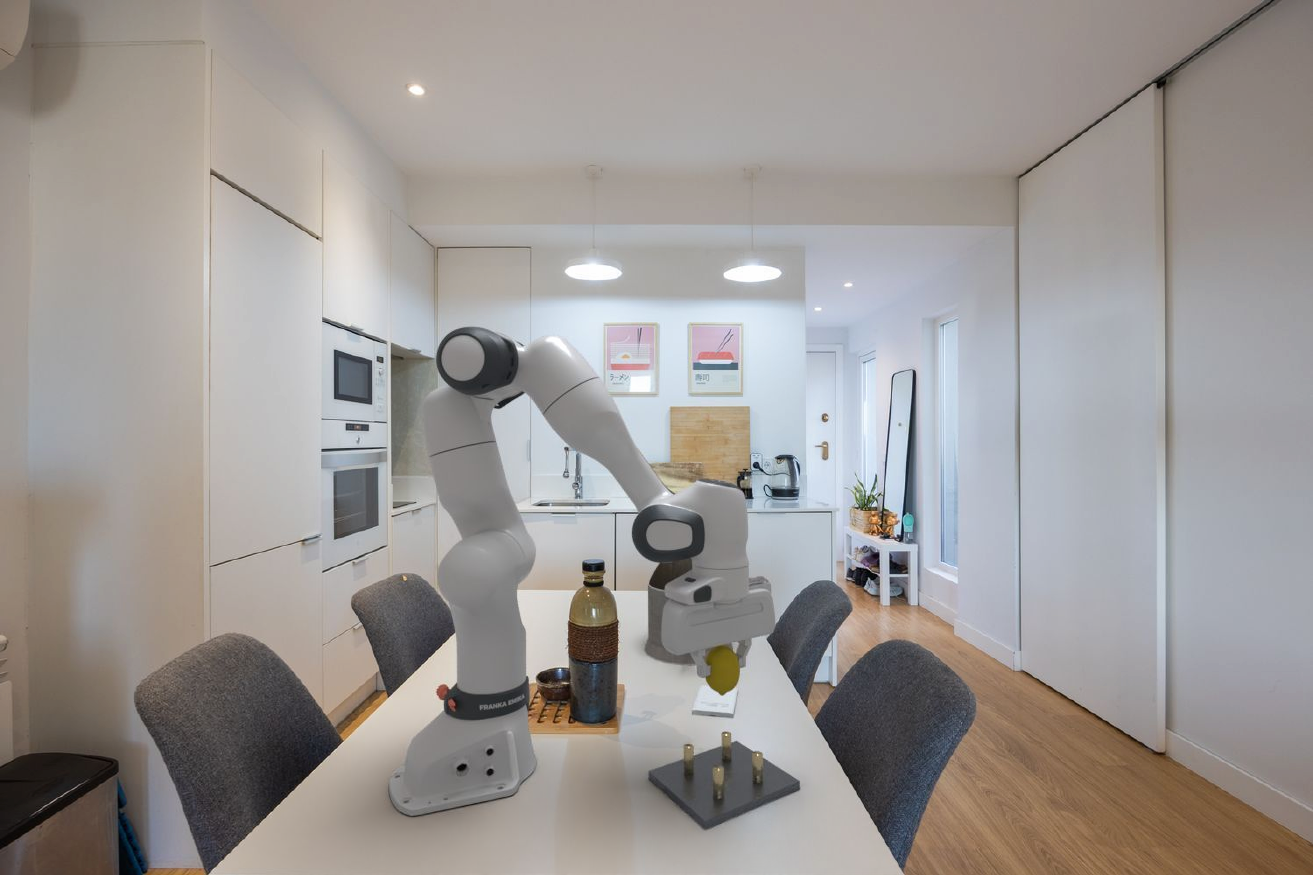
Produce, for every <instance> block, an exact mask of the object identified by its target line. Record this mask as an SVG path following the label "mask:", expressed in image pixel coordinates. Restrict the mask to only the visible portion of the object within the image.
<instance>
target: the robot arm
mask: <svg viewBox="0 0 1313 875" xmlns="http://www.w3.org/2000/svg"><path fill="white" fill-rule="evenodd" d="M435 361H436V362H435V363H436V367H437V371H438V373H439V375H440V377H441V379H442V380H443V381H444V382H445V383H446V385H445V384H444V385H442V386H440V387H437V388H436V389H434V390H431V392H430V393H428V394H427V396H426V397H425V398H424V400H423V403H422V422H423V433H424V440H425V447H426V451H427V455H428V459H429V463H430V468H431V472H432V475H433V479H434V480H433V481H434V483H435V489H436V491H437V495H438V499H439V502H440V505H441V506H442V508H443V510H446V512H447V513H448V514H449V516H450V518H451V519H452V520H453V523H454V524H455V526H456V529H457V531H458V532H459V535H460V537H461V539H460V540H459V541H458V542H456V543H455V544H454V545H453V546H452V547H451V548H450V549H449V550H448V551H447V553H445V555H444V557H443V559H441V562H440V563H439V565H438V568H437V573H436V574H437V575H436V581H437V586H438V588H439V592H440V593H441V596H442V597H443V598H444V599H445V600H446V601H447V602H448V605H449V609H450V613H451V617H452V622H453V628H454V632H455V639H456V641H455V642H456V683H455V684H454V685H453V686H452V687H451V688H450V687H449V686H448V685H447V684H445V683H443V684H442V683H441V684H439V686H438V687H437V688H435V689H436V691H435V693H436V696H437V698H438V699H439V700H441V701H443V711H442V712H440V713H439V714H438V715H437V716H436V717H435V718H434V719H432V720H431V721H430V723H428V724H427V725H425V726H424V727H423V728H422V729H421V730H420V731H419V732H418V733H417V734H416V735H415V736H413V738H412V739H411V741H410V743H409V745H408V748H407V752H406V756H405V757H406V758H405V763H404V764H403V765H401V766H398V767H396V769H395V770H394V771H393V772H392V774H391V775H390V778H389V779H390V780H389V785H388V786H389V787H388V792H389V797H390V799H391V803H392V804H393V806H394V807H395V808H396V809H397V811H399V812H401V813H402V814H405V815H406V816H410V817H414V816H421V815H425V814H429V813H433V812H435V813H436V812H440V811H443V810H444V811H445V810H449V809H453V808H454V809H455V808H459V807H463V806H467V805H472V804H477V803H481V802H486V801H492V800H497V799H500V798H506V797H511V796H513V795H514V794H516V792H517V791H518V789H520V786H521V783H523V781H524V780H526V779H527V778H528V777H529V776H531V774H532V773H533V772H534V770H535V769H536V767H537V762H538V761H537V756H536V753H535V750H534V747H533V742H532V737H531V731H530V723H529V714H528V711H530V700H531V699H530V698H531V689H530V680H529V676H528V675H527V629H526V627H525V625H524V624H523V621H522V617H521V612H520V607H519V603H518V602H519V601H518V587H519V585H520V584H521V583H522V582H523V581H524V580H525V579H526V578H528V576H529V574H530V573H531V571H532V570H533V568H534V567H533V566H534V565H535V561H536V557H537V556H536V555H537V547H536V544H535V542H534V539H533V537H532V536H531V535H530V534H529V532H528V530H527V528H526V525H525V522H524V520H523V518H522V515H521V513H520V511H519V509H518V506H517V504H516V502H515V499H514V498H513V495H512V493H511V491H510V486H509V484H508V480H507V478H506V474H505V470H504V466H503V462H502V458H501V453H500V450H499V446H498V442H497V438H496V436H495V432H494V428H493V423H492V413H493V410H494V409H496V410H499V409H500V410H501V409H502V408H505V406H507V405H509V404H510V403H511V402H513V401H515V400H516V399H518V398H520V397H521V396H523V395H525V394H526V395H527V396H528V397H529V398H530V399H531V401H532V402H533V403H534V405H536V407H537V409H538V410H539V411H540V413H541V414H542V416H543V417H544V419H545V420H546V422H547V423H548V425H549V426H550V427H551V428H552V430H553V431H554V432H555V433H556V434H557V435H558V437H559V438H560V439H561V440H562V441H563V442H564V443H565V444H566V445H567V446H568V447H570V448H571V449H573V451H577V452H578V453H581V454H583V455H585V456H587V457H590V458H591V459H594V461H596V462H598V463H599V464H600V465H602V466H603V467H604V468H605V469H607V470H608V471H609V473H610V474H611V475H612V477H613V478H614V479H615V480H616V482H617V483H618V485H619V486H620V488H621V489H622V490H623V491H624V493H625V494H626V496H627V497H628V498H629V500H631V502H632V504H633V505H634V506H635V508H636V510H637V515H636V516H635V519H634V521H633V523H632V527H631V539H632V543H633V545H634V547H635V549H636V551H637V552H638V553H639V554H640V555H641V556H642V557H643V558H644V559H646V560H647V561H650V562H653V563H657V564H659V563H669V562H673V561H679V560H684V559H688V558H691V559H692V570H690V571H688V572H687V573H685V574H684V575H682V576H680V577H678V578H676V579H675V580H673V581H671V582H669V583H667V584H666V586H665V595H666V597H668V598H670V599H669V600H668V601H667V602H666V604H665V606H664V608H663V614H662V630H661V638H662V644H663V646H664V647H665V649H666V650H667V651H669V652H671V653H673V654H675V655H682V654H686V653H690V654H691V656H692V658H693V660H694V661H695V663H696V664H697V665H696V675H697V677H698V678H701V679H705V677H709V676H711V672H710V671H711V665H709V664H707V663H705V661H704V659H703V657H702V656H705V649H708V648H712V647H716V646H721V645H725V644H729V643H731V644H733V643H737V644H738V646H737V649H736V651H735V654H736V655H737V658H738V661H739V665H740V669H742V668H745V667H746V666H747V656H748V655H749V654H748V653H749V652H750V649H751V648H752V641H753V640H752V639H755V638H759V637H763V636H764V637H765V636H767V635H772V634H773V633H774V631H775V629H776V613H775V605H774V600H773V596H772V585H771V583H770V581H769V580H768V579H767V578H765V577H764V576H761V575H759V576H756V577H750V575H749V574H750V570H749V569H750V568H749V566H750V565H749V564H750V563H749V558H748V556H747V542H748V538H749V522H748V520H749V519H748V518H749V517H748V507H747V500H746V495H745V494H744V492H743V490H741V488H740V487H739V486H738V485H736V484H734V483H732V482H728V481H724V480H719V479H713V478H712V479H710V478H700V479H697V480H695V482H694V483H692V484H691V485H689V486H688V487H686V488H685V489H682V490H680V491H679V492H676V493H675V492H674V491H672V490H671V489H670V488H668V487H667V485H665V483H664V482H663V481H662V480H661V478H660V477H659V476H658V474H657V473H656V471H655V470H654V469H653V468H652V466H651V464H649V462H648V460H647V459H646V458H645V456H644V455H643V454H642V452H641V451H640V449H639V448H638V447H637V445H636V443H635V441H634V440H633V438H632V436H631V434H630V432H629V430H628V428H627V425H626V423H625V421H624V418H623V416H622V414H621V412H620V409H619V407H618V405H617V403H616V402H615V400H614V398H613V396H612V394H611V392H610V391H609V389H608V388H607V386H606V385H605V383H604V382H603V380H602V378H601V377H600V376H599V375H598V373H597V372H596V370H594V368H593V367H592V365H591V364H590V363H589V362H588V361H587V359H586V358H585V357H584V356H583V354H581V352H579V351H578V349H576V347H574V346H573V345H572V344H571V343H570V342H569V341H568V340H567V339H566V338H564V337H562V336H560V335H555V334H548V335H544V336H540V337H538V338H535V339H534V340H532V341H531V342H530V343H528V344H527V345H524V344H522V343H521V342H520V341H516V340H515V339H513V338H512V337H510V336H508V335H506V334H504V333H501V332H498V331H492V330H490V329H487V328H484V327H480V326H464V327H459V328H456V329H454V330H452V331H450V332H449V333H448V334H446V335H445V336H444V337H443V338H442V340H441V341H440V343H439V345H438V348H437V350H436V358H435Z"/></svg>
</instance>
